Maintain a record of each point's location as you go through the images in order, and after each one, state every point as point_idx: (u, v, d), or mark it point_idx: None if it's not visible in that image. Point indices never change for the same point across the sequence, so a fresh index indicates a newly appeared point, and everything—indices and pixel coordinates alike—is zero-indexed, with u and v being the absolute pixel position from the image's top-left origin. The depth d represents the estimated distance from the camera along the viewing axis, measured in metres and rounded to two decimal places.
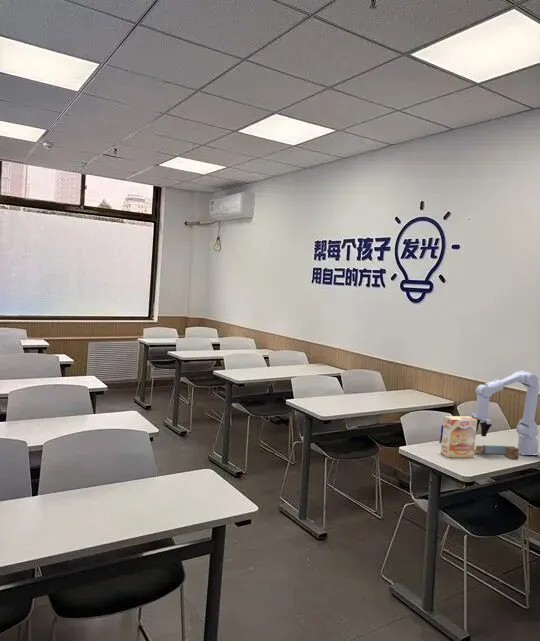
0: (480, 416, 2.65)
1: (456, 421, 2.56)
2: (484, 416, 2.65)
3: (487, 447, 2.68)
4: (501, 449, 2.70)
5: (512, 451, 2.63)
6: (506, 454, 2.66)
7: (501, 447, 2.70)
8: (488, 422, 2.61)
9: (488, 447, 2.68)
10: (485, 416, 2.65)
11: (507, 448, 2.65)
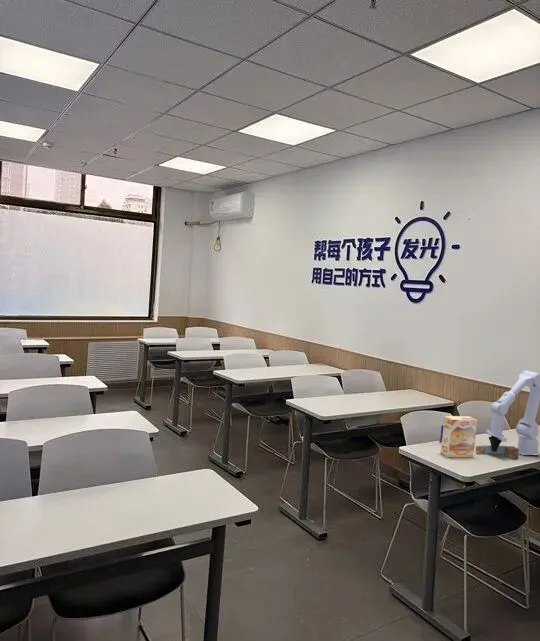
0: (495, 433, 2.65)
1: (456, 421, 2.56)
2: (499, 433, 2.65)
3: (487, 447, 2.68)
4: (501, 449, 2.70)
5: (512, 451, 2.63)
6: (506, 454, 2.66)
7: (501, 447, 2.70)
8: (503, 440, 2.60)
9: (488, 447, 2.68)
10: (500, 434, 2.65)
11: (507, 448, 2.65)
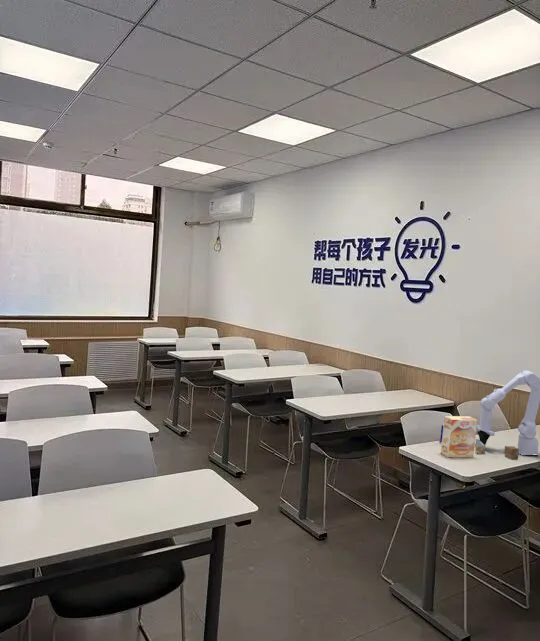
0: (484, 428, 2.75)
1: (456, 421, 2.56)
2: (487, 428, 2.74)
3: None
4: None
5: (512, 451, 2.63)
6: (506, 454, 2.66)
7: None
8: (491, 434, 2.70)
9: None
10: (489, 428, 2.74)
11: (507, 448, 2.65)
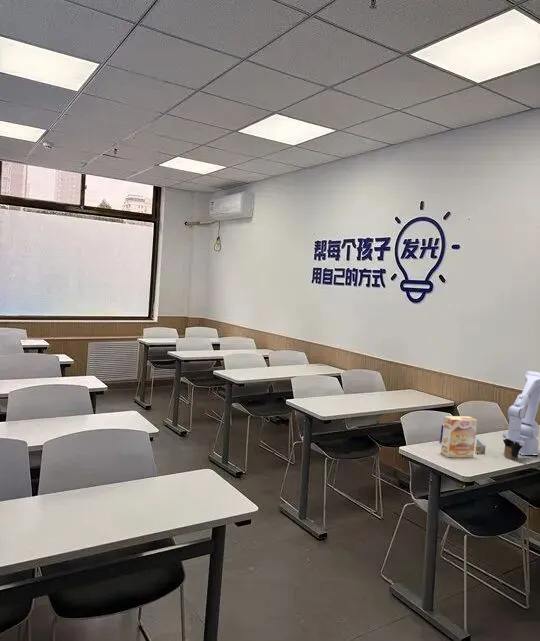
0: (513, 437, 2.62)
1: (456, 421, 2.56)
2: (517, 437, 2.62)
3: None
4: None
5: None
6: (506, 454, 2.66)
7: None
8: (521, 444, 2.57)
9: None
10: (518, 438, 2.62)
11: (507, 447, 2.65)
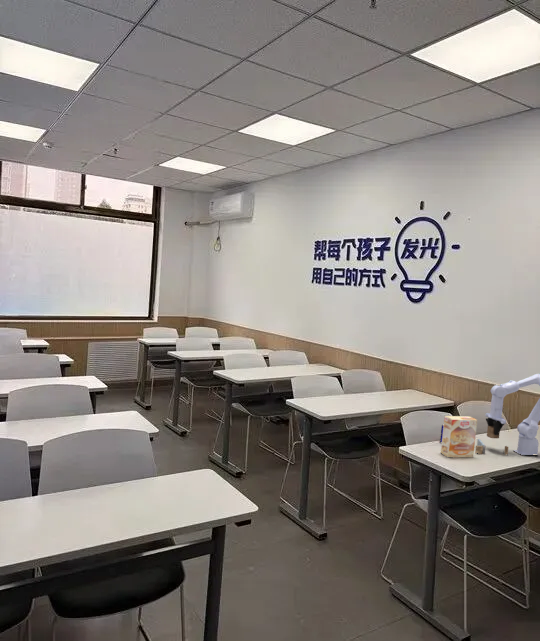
0: (495, 416, 2.71)
1: (456, 421, 2.56)
2: (499, 416, 2.71)
3: None
4: None
5: (493, 430, 2.72)
6: (488, 433, 2.75)
7: None
8: (503, 422, 2.67)
9: None
10: (500, 416, 2.71)
11: (488, 427, 2.74)
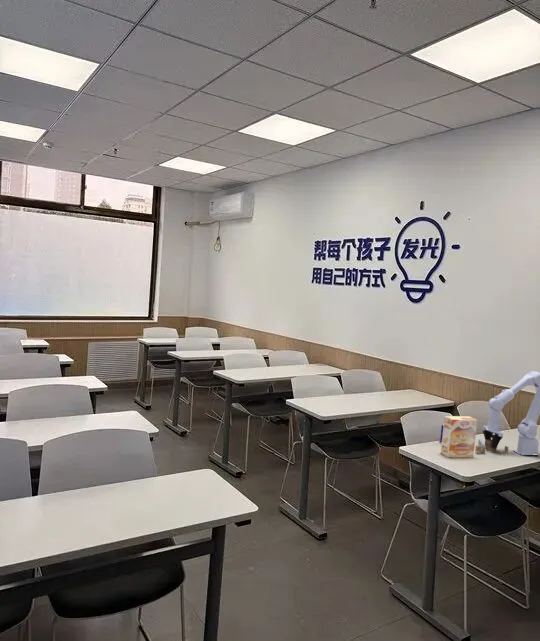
0: (492, 429, 2.72)
1: (456, 421, 2.56)
2: (496, 429, 2.72)
3: None
4: None
5: (491, 444, 2.73)
6: None
7: None
8: (500, 435, 2.68)
9: None
10: (497, 429, 2.72)
11: (486, 440, 2.76)
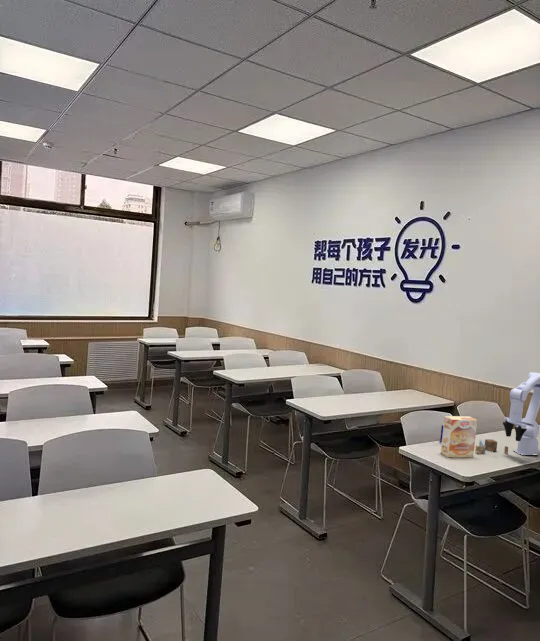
0: (514, 420, 2.60)
1: (456, 421, 2.56)
2: (518, 420, 2.60)
3: (484, 446, 2.70)
4: None
5: (491, 444, 2.73)
6: None
7: None
8: (523, 427, 2.56)
9: (484, 446, 2.70)
10: (520, 421, 2.60)
11: (486, 440, 2.76)
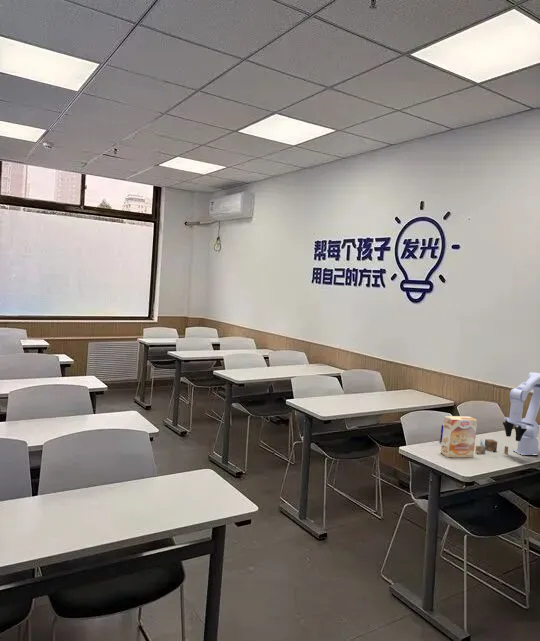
0: (514, 420, 2.60)
1: (456, 421, 2.56)
2: (518, 420, 2.60)
3: (484, 446, 2.70)
4: None
5: (491, 444, 2.73)
6: None
7: None
8: (523, 427, 2.56)
9: (484, 446, 2.70)
10: (520, 421, 2.60)
11: (486, 440, 2.76)
